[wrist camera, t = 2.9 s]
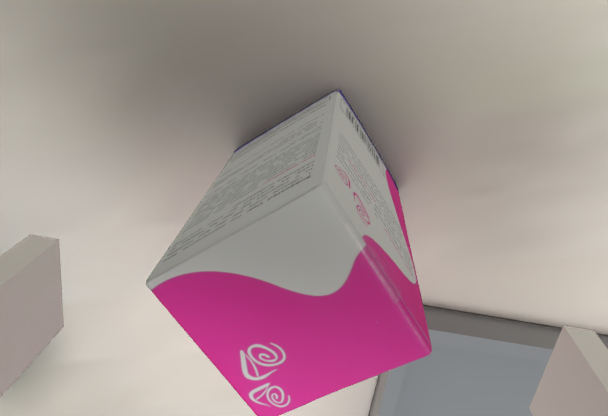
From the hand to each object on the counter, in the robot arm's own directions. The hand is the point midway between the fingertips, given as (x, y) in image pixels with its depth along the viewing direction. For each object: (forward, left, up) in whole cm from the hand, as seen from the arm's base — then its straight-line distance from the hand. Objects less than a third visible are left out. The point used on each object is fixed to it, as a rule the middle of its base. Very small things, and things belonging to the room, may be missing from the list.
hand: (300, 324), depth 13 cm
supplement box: (0, 0, -12) cm, 12 cm away
